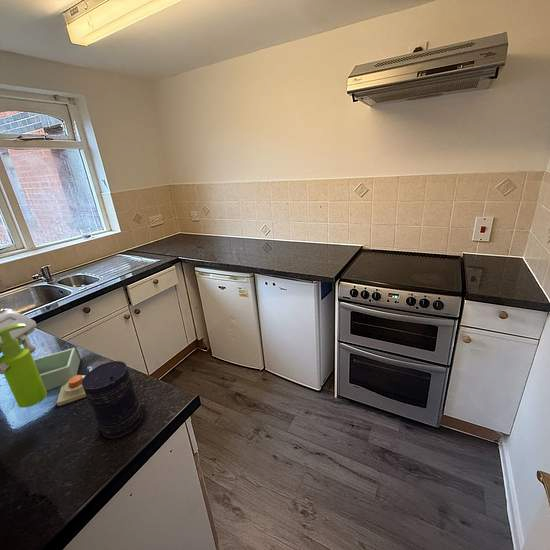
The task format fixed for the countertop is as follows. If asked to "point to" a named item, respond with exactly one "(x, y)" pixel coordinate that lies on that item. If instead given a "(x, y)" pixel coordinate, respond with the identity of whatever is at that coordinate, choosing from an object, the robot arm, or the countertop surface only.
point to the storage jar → (113, 398)
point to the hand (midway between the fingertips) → (20, 361)
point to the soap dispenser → (21, 370)
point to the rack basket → (57, 368)
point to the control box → (70, 394)
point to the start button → (75, 381)
